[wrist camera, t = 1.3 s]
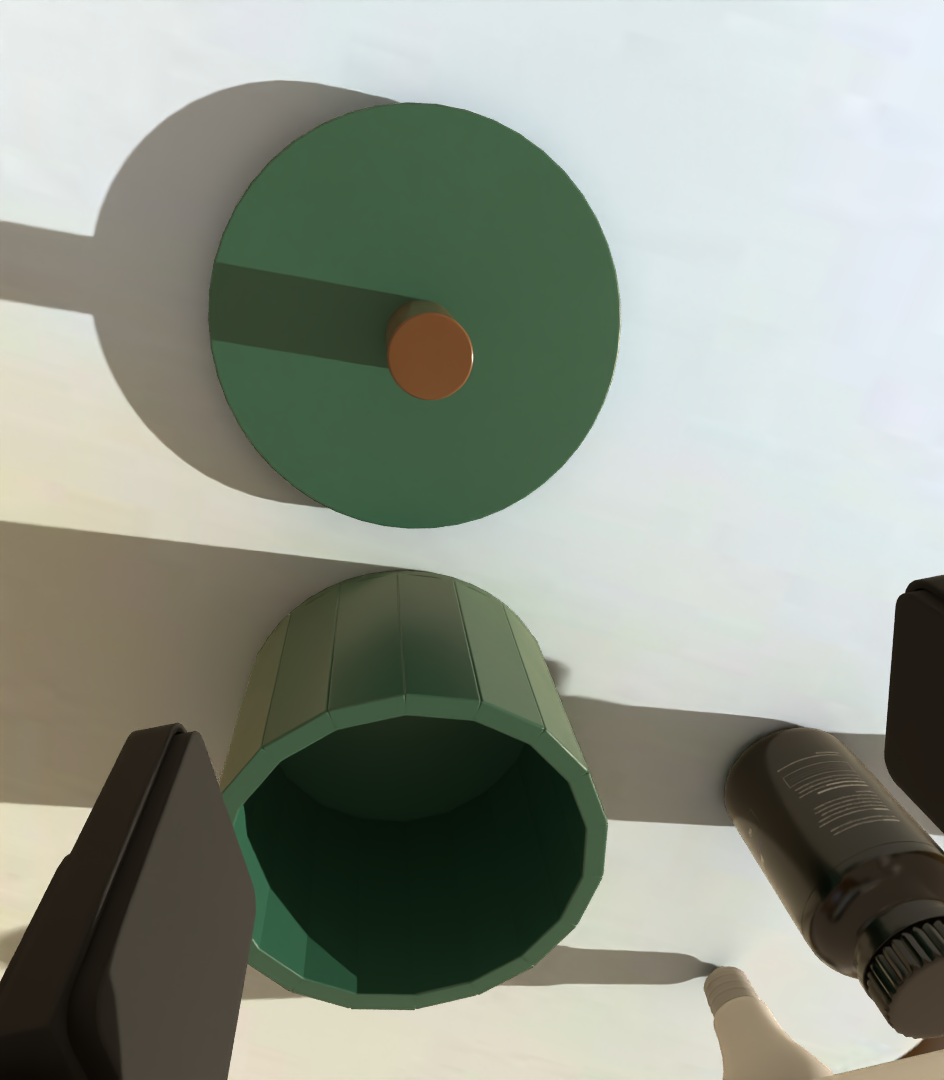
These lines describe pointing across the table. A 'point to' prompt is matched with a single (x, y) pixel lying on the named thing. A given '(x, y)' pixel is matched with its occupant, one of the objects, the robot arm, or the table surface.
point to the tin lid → (414, 315)
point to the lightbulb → (754, 1034)
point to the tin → (408, 796)
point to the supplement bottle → (847, 869)
